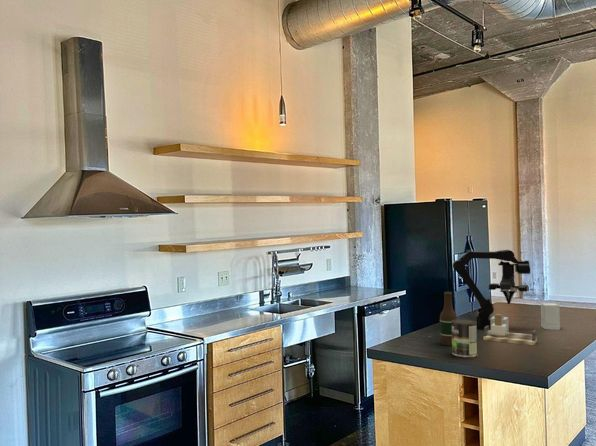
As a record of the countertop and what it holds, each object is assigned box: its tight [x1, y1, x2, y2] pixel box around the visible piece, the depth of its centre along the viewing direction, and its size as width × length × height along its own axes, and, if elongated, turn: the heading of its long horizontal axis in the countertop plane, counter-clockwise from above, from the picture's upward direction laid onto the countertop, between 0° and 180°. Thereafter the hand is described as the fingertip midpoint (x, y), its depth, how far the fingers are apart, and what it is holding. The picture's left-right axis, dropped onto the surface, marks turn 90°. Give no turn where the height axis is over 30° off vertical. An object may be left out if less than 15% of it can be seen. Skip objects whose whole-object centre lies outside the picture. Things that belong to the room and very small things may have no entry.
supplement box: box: [540, 302, 561, 331], centre depth 264 cm, size 7×7×13 cm
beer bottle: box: [439, 291, 458, 347], centre depth 235 cm, size 8×8×24 cm
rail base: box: [482, 326, 538, 346], centre depth 239 cm, size 22×10×6 cm, turn 57°
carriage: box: [490, 313, 507, 336], centre depth 242 cm, size 6×6×9 cm
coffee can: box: [451, 318, 478, 358], centre depth 216 cm, size 10×10×14 cm
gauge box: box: [490, 315, 510, 333], centre depth 253 cm, size 7×7×8 cm
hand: (509, 303), depth 264 cm, fingers closed
